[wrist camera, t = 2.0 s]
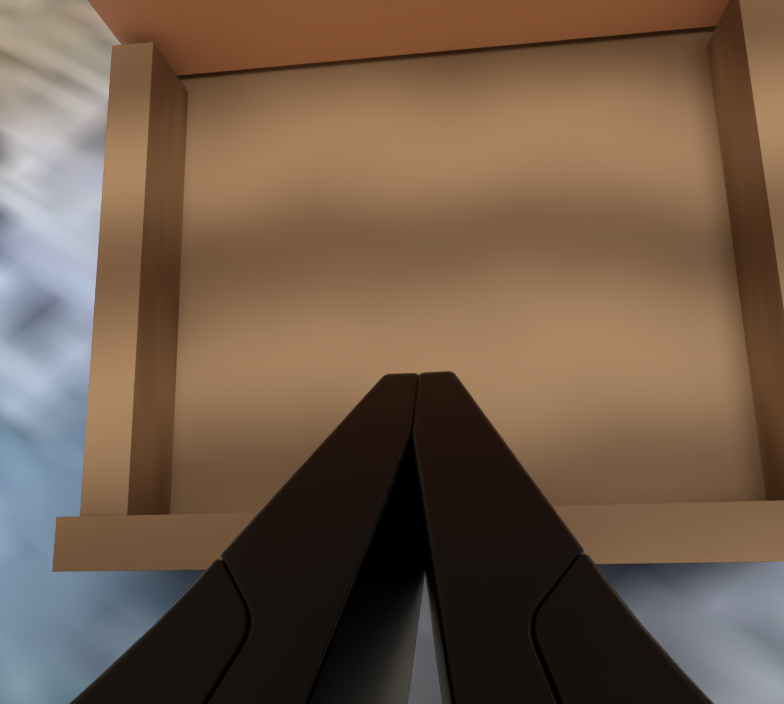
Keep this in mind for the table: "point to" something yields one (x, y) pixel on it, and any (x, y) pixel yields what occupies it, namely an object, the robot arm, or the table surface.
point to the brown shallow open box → (447, 283)
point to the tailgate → (374, 26)
